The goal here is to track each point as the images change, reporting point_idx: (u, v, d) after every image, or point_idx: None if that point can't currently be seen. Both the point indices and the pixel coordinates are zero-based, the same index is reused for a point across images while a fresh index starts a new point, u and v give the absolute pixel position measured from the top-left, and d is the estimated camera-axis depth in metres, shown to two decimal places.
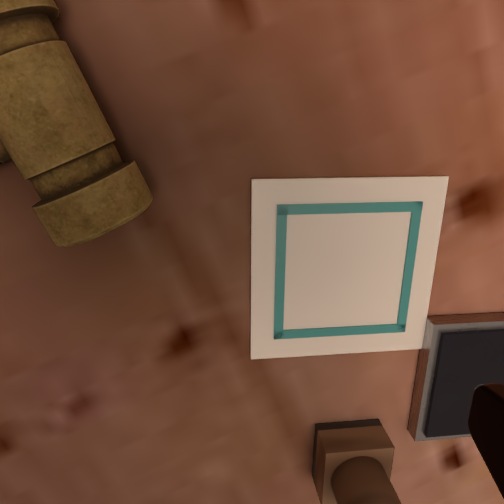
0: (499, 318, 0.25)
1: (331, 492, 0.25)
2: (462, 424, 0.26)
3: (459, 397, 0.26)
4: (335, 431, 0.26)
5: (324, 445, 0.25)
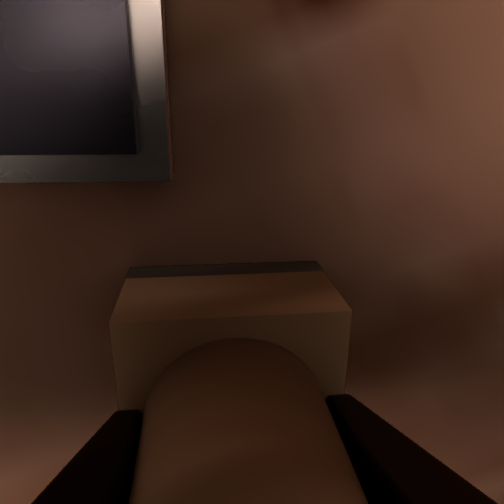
0: None
1: None
2: (70, 1, 0.06)
3: None
4: None
5: None
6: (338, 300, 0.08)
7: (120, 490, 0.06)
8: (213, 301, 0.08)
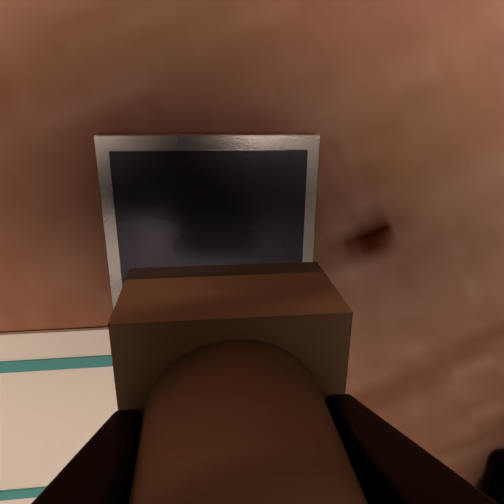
0: None
1: None
2: None
3: None
4: None
5: None
6: (338, 301, 0.08)
7: (120, 490, 0.06)
8: (213, 302, 0.08)
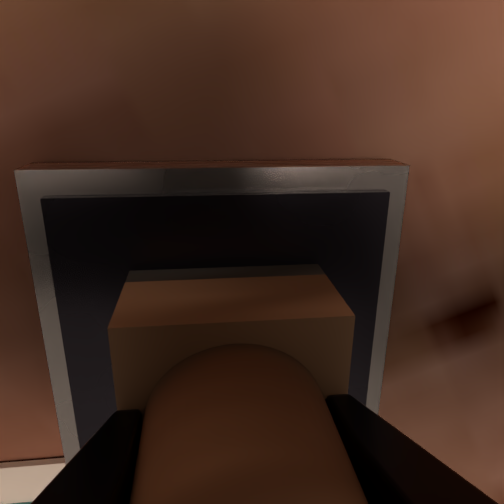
0: None
1: None
2: None
3: None
4: None
5: None
6: (341, 304, 0.08)
7: (119, 490, 0.06)
8: (214, 306, 0.08)
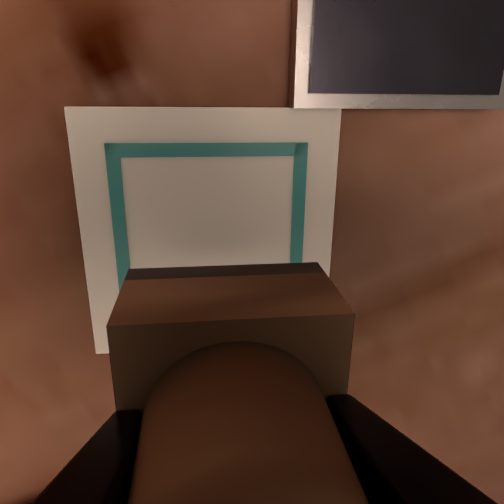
0: None
1: None
2: (491, 27, 0.15)
3: (432, 44, 0.15)
4: None
5: None
6: (340, 302, 0.08)
7: (120, 490, 0.06)
8: (213, 303, 0.08)
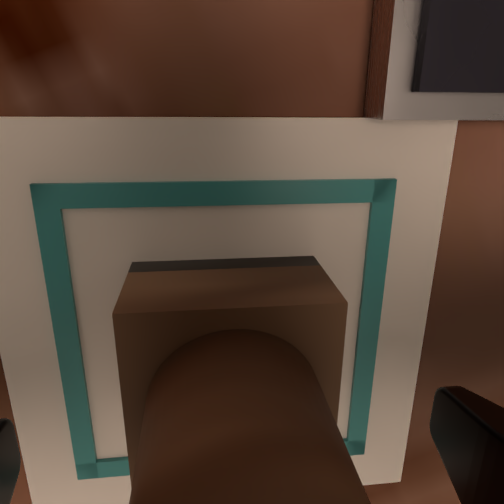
0: None
1: None
2: None
3: None
4: None
5: None
6: (334, 292, 0.08)
7: None
8: (213, 293, 0.08)
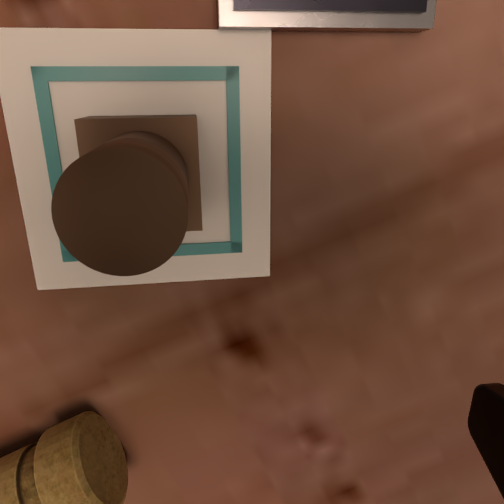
0: None
1: None
2: None
3: None
4: None
5: None
6: (193, 116, 0.15)
7: None
8: (128, 117, 0.15)
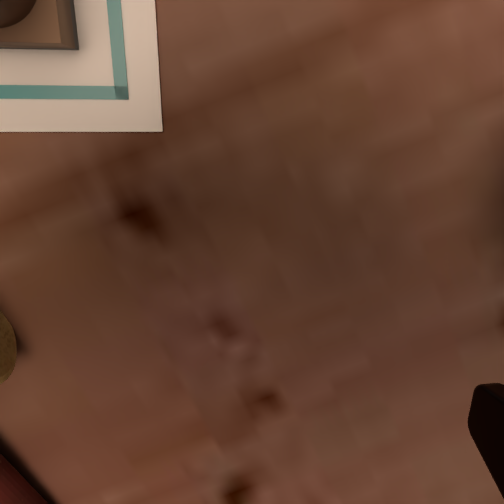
0: None
1: (24, 25, 0.14)
2: None
3: None
4: None
5: None
6: None
7: None
8: None
